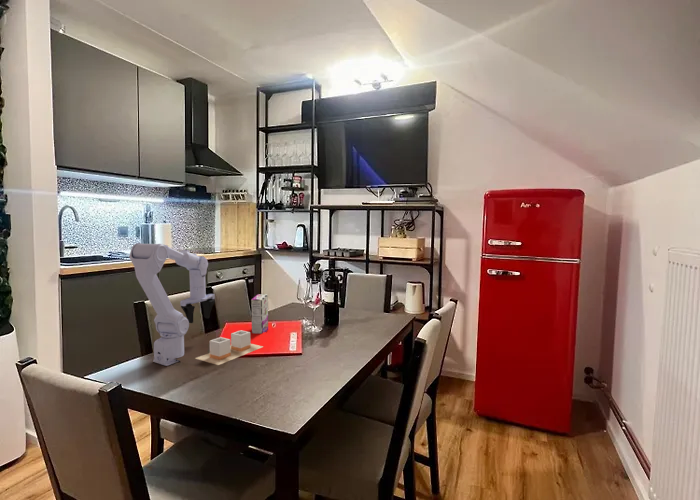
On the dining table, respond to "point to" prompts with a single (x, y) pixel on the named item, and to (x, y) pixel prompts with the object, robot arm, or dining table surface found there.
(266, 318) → the candy bar box
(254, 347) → the pin board
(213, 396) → the dining table surface
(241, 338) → the seated sleeve
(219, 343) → the loose sleeve
